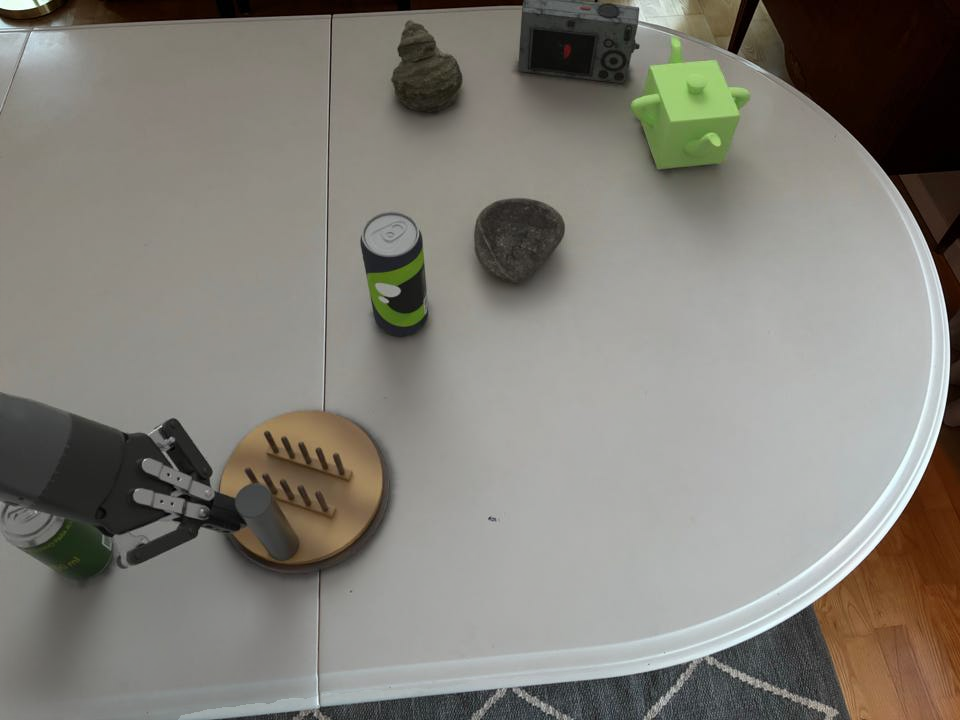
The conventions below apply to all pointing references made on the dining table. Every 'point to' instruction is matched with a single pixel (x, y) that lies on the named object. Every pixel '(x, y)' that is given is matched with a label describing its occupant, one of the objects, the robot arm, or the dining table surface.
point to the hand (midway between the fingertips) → (243, 519)
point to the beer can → (57, 541)
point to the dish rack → (303, 486)
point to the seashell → (424, 71)
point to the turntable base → (339, 556)
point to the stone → (516, 237)
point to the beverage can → (395, 272)
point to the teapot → (688, 111)
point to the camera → (578, 39)
